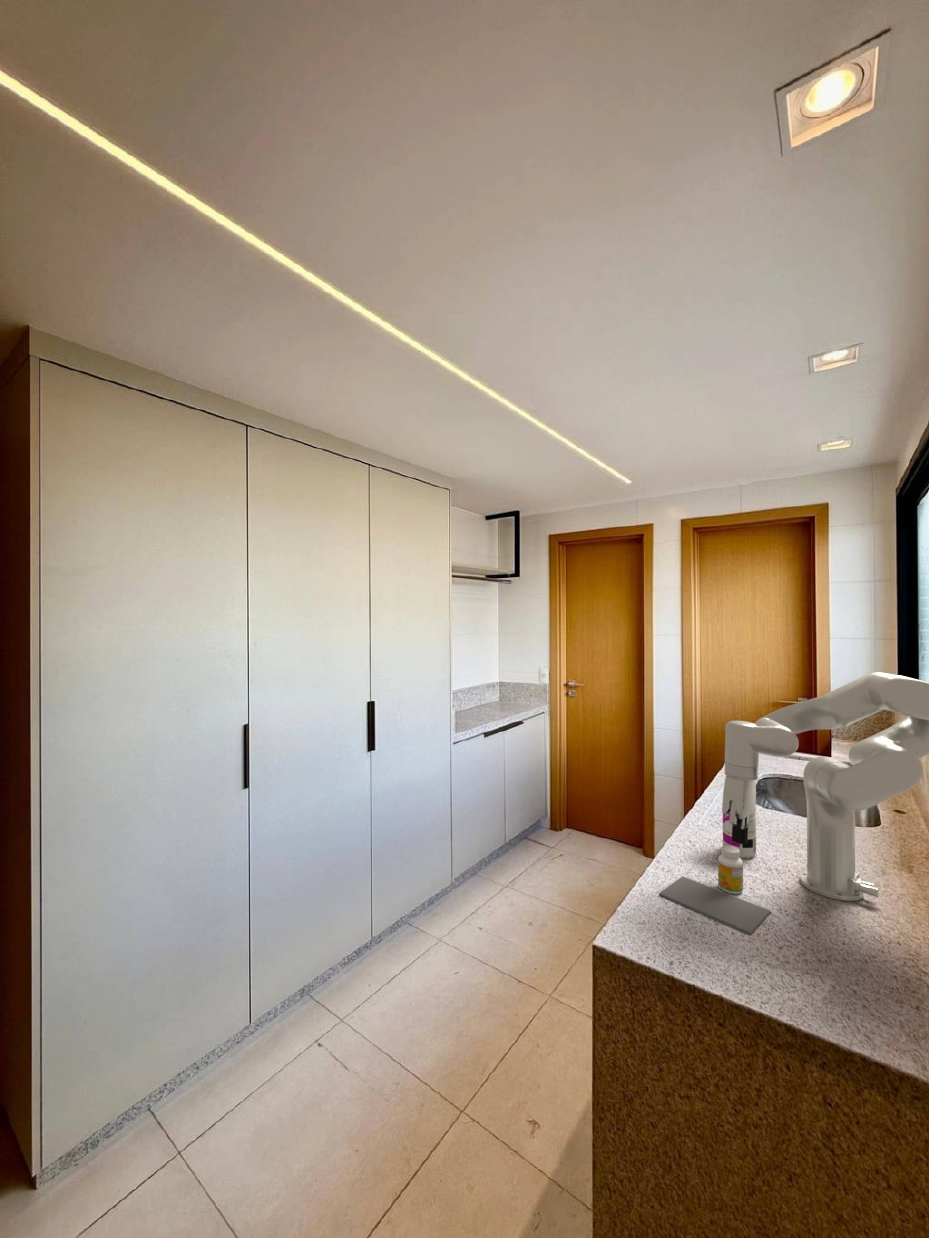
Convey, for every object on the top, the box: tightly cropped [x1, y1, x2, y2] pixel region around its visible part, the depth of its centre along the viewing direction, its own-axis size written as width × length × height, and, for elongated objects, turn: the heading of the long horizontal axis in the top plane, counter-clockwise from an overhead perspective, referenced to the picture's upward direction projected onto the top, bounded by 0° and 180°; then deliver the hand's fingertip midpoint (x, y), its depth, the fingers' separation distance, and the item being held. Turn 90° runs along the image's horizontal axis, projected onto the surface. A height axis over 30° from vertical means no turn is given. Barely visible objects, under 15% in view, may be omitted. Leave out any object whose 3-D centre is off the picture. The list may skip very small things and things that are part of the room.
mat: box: [658, 875, 772, 936], centre depth 114 cm, size 20×12×1 cm, turn 41°
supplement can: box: [722, 807, 757, 859], centre depth 140 cm, size 8×8×15 cm
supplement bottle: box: [717, 845, 744, 895], centre depth 121 cm, size 5×5×10 cm
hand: (739, 842), depth 126 cm, fingers closed
